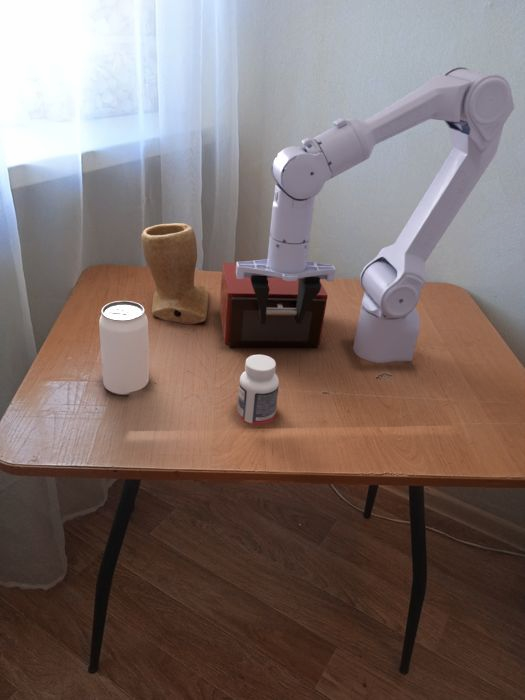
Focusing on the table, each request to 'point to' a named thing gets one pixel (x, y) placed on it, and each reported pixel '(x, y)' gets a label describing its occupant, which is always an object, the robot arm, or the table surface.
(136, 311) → the can
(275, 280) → the oven
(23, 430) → the table surface
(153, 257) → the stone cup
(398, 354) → the robot arm
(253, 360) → the pill bottle
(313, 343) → the oven door
